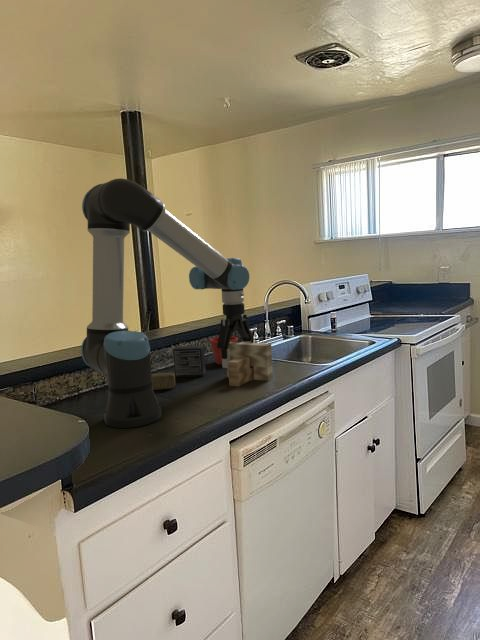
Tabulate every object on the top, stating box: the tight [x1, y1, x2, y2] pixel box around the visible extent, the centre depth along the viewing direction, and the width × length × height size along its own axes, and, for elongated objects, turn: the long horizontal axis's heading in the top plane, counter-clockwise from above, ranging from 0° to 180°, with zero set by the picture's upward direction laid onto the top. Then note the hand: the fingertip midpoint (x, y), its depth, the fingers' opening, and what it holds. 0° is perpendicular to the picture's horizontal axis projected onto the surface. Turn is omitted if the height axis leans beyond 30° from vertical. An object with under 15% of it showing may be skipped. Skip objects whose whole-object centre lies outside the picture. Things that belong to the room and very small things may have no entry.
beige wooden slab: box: [226, 341, 274, 382], centre depth 168 cm, size 16×4×12 cm, turn 60°
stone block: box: [152, 372, 177, 391], centre depth 161 cm, size 6×12×5 cm, turn 94°
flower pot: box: [209, 336, 239, 365], centre depth 194 cm, size 11×11×10 cm
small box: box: [172, 344, 207, 378], centre depth 177 cm, size 11×6×10 cm, turn 84°
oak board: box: [228, 357, 254, 387], centre depth 168 cm, size 22×4×8 cm, turn 150°
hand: (236, 363), depth 170 cm, fingers open, 13 cm apart
